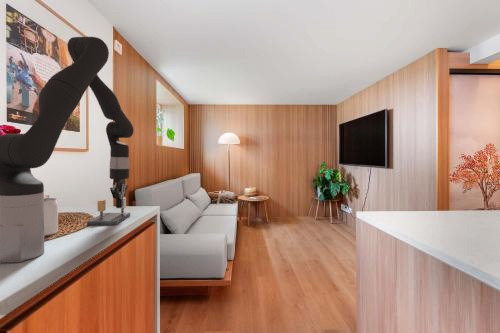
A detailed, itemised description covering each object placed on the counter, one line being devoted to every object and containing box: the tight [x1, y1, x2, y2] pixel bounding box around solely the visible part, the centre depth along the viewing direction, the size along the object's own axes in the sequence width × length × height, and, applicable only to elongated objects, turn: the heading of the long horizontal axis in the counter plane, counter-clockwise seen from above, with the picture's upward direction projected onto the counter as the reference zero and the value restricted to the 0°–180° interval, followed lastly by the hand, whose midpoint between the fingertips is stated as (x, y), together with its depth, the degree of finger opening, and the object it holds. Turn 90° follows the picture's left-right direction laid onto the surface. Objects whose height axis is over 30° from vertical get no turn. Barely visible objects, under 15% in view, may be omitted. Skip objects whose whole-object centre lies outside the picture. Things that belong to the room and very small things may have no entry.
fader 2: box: [120, 197, 127, 213], centre depth 111 cm, size 3×2×7 cm
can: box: [44, 197, 59, 237], centre depth 87 cm, size 6×6×12 cm
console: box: [86, 212, 131, 226], centre depth 106 cm, size 15×11×2 cm
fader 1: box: [97, 199, 107, 217], centre depth 105 cm, size 3×2×7 cm
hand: (119, 207), depth 108 cm, fingers closed
